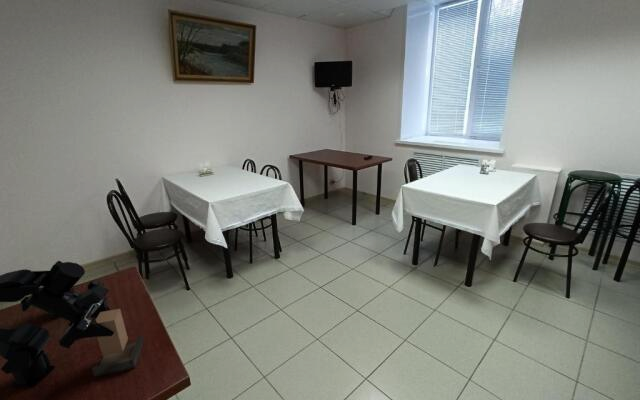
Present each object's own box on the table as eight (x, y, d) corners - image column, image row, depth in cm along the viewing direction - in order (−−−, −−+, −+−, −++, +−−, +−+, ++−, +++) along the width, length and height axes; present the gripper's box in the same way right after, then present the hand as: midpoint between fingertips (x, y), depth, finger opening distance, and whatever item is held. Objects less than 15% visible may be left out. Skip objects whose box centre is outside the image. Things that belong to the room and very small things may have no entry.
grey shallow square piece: (94, 377, 82) (91, 369, 81) (107, 349, 91) (105, 342, 90) (135, 367, 84) (133, 359, 83) (143, 342, 93) (141, 334, 92)
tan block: (102, 355, 84) (93, 324, 80) (108, 342, 88) (100, 312, 85) (122, 351, 85) (114, 320, 82) (128, 339, 89) (120, 308, 86)
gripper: (61, 302, 70) (124, 329, 76) (93, 263, 87) (142, 288, 93) (30, 336, 70) (96, 361, 76) (68, 291, 87) (119, 314, 93)
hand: (116, 327), depth 85 cm, fingers closed on tan block, 5 cm apart
